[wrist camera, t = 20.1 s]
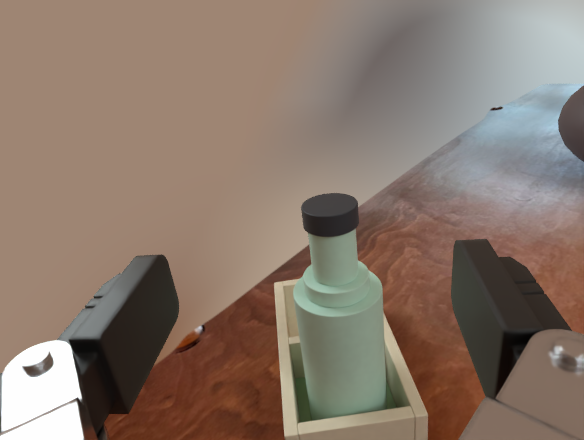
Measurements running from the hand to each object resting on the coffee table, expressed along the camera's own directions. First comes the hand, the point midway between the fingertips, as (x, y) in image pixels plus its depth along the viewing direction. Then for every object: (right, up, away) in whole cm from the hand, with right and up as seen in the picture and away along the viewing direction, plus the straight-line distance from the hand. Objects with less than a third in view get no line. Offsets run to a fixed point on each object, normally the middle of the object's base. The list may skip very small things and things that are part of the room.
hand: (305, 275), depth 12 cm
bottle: (+4, -11, +17) cm, 21 cm away
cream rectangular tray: (+3, -10, +21) cm, 24 cm away
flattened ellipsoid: (+49, +7, +46) cm, 67 cm away
